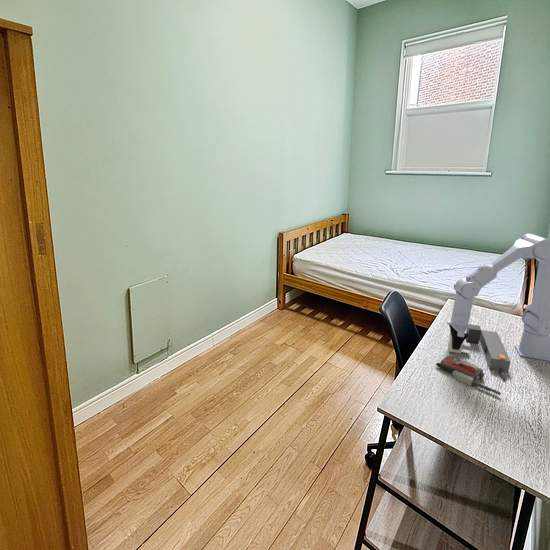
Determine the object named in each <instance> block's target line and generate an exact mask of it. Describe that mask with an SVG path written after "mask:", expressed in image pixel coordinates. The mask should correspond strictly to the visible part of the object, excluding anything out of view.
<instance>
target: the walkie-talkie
mask: <svg viewBox="0 0 550 550" xmlns="http://www.w3.org/2000/svg"><path fill="white" fill-rule="evenodd" d="M435 365H436V366H437V368H439V370H441V371H444V372H447V373H448V374H451V375H452V376H453V377H454V378H455V379H456V380H457V381H459V382H462V383H464V384H466V385H468V386H469V387H470V386H472V385H473V386H475V387H479V388H480V389H483V390H485V391H488V392H492V393H494V394H496V395H499V396H500V395H501V392H500V391H498V390H496V389H493V388H491V387H489V386H486V385H484V384H482V383H479V380H482V379H484V377H485V372H484V369H482V368H480V367H478V366H477V365H476V364H474V363H471V362H469V361H466V360H459V359H458V358H456V357H452V356H449V355H446V356H445V357H443V359H440V362H437V363H435Z"/></svg>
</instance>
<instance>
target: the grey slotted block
mask: <svg viewBox="0 0 550 550" xmlns="http://www.w3.org/2000/svg"><path fill="white" fill-rule="evenodd" d="M465 333H467V334H468V337H467V338H466V339H465V342H466V343H470V345H477V346H478V345H481V349H482V352H483V356H484V358H485V360H486V363H487V366H488V368H489V370H494V371H495V370H496V371H499V373H500V375H501V378H502V380H503V381H506V380H507V378H506V375H505V372H507V373H508V372H509V370H510V365H511V359H510V357H509V355H508V353H507V350H506V348H505V346H504V344H503V341H502V340H501V337H500V335H499V333H498V332H497V331H492V330H486V329H485V330H484V329H481V326H480V325H477V324H470V323H469V327H468V329H467V330H466V331H465ZM479 343H480V344H479Z"/></svg>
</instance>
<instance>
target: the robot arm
mask: <svg viewBox="0 0 550 550" xmlns="http://www.w3.org/2000/svg"><path fill="white" fill-rule="evenodd" d="M534 258H535V260H537V261H538V267H537V272H536V277H535V278H536V279H535V284H534V288H533V295H532V299H531V304H528V305H527V306H526V307H525V310H524V312H523V313H522V315H521V321H522V323H523V330H522V334H521V337H520V341H519V344H515V345H514V347H515V349H516V351H517V352H518V354H519V357H525V358H531V359H534V360H535V359H536V360H542V361H548V362H550V238H546V237H542V236H540V235H537V234H535V233H531V232H530V233H529V232H528V233H526V234H523V235H522V236H521V237H520V238H518V239H517V240H515V242H514V244H513V245H512V246H511V247H510V248H508V249H507V250H505V252H504V253H502V254H501V255H500V256H498V258H495V260H494V261H492V262H491V263H490V264H483V265H479V266H477V269H476V270H475V271H473V272H472V273H469V275H466V276H465V277H464V278H462V277H461V278H460V279H458V280H457V281H456V282H455V284H453V289H454V290H455V297H454V301H453V305H452V307H453V308H452V312H451V317H450V320H449V319H448V320H446V324H447V325H449V328H450V332H449V334H450V333H451V335H452V348H453V349H455V350H459V349H460V347H461V345H462V343H463V342H465V341H466V338H467V337H468V334H467V333H466V332H467V329H468V327H469V324H470V319H471V314H472V310H473V309H472V308H473V304H474V299H475V297H478V295H479V293H480V291H481V290H482V288H484V287H485V286H486V285H488V284H489V283H491V282H492V281H493V280H495V279H496V278H497V276H498V272H500V271H502V270H504V269H505V268H507V267H508V266H510V265H512V264H513V263H515V262H517V261H518V260H520V259H534Z"/></svg>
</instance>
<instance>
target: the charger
mask: <svg viewBox="0 0 550 550" xmlns="http://www.w3.org/2000/svg"><path fill="white" fill-rule="evenodd" d="M447 348H448V352H449V353H450V352H451V353H455V354H462V351H463V350H464V351H465V350H466V351H471V350H470V349H471V343H467V342H466V341H463V343H462V345H461V347H460V349H459V350H455V349H453V348H452V335H451V333H450V332H449V339H448V342H447Z"/></svg>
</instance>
